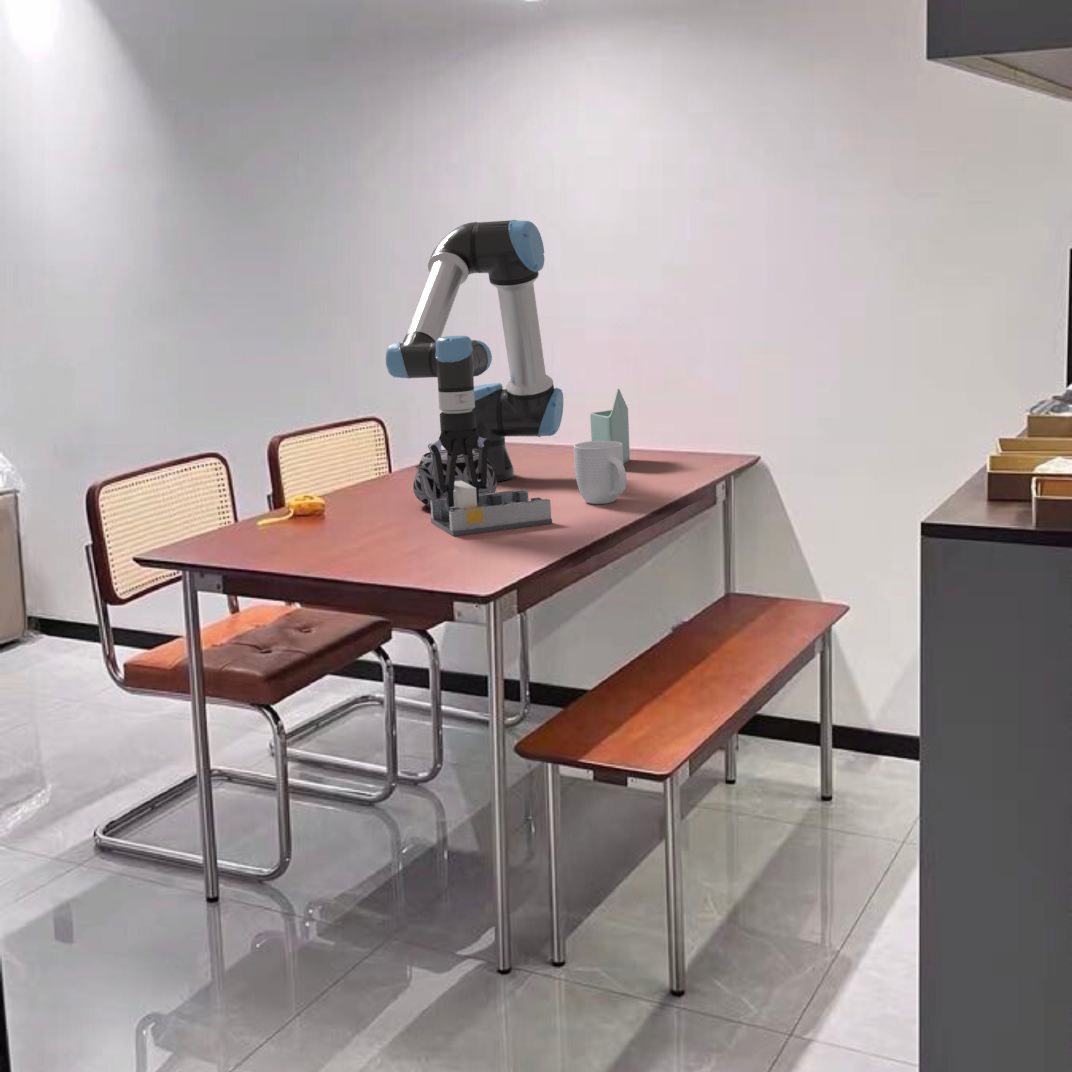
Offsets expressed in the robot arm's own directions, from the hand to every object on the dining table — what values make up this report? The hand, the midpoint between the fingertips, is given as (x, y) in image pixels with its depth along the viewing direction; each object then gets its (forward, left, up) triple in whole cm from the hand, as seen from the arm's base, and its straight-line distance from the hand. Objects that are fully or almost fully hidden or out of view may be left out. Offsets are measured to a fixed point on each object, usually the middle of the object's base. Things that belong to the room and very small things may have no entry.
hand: (463, 520), depth 314 cm
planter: (-51, +55, -2) cm, 75 cm away
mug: (-7, +35, -2) cm, 36 cm away
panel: (0, 0, 0) cm, 0 cm away
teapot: (-23, +5, -2) cm, 24 cm away
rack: (0, +6, -1) cm, 6 cm away
